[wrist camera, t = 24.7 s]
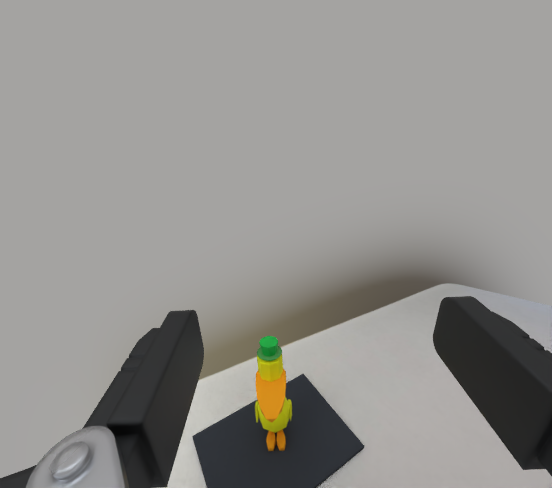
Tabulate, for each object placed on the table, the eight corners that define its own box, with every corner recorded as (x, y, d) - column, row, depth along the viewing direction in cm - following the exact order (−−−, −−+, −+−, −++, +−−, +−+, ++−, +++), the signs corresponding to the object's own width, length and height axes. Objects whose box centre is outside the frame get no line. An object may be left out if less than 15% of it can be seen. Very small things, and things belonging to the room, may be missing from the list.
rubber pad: (228, 559, 19) (227, 558, 19) (193, 437, 27) (192, 436, 27) (364, 447, 26) (364, 445, 26) (303, 375, 34) (303, 373, 34)
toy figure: (297, 482, 23) (293, 383, 19) (256, 484, 23) (242, 386, 19) (291, 408, 30) (287, 320, 25) (258, 410, 30) (248, 323, 25)
